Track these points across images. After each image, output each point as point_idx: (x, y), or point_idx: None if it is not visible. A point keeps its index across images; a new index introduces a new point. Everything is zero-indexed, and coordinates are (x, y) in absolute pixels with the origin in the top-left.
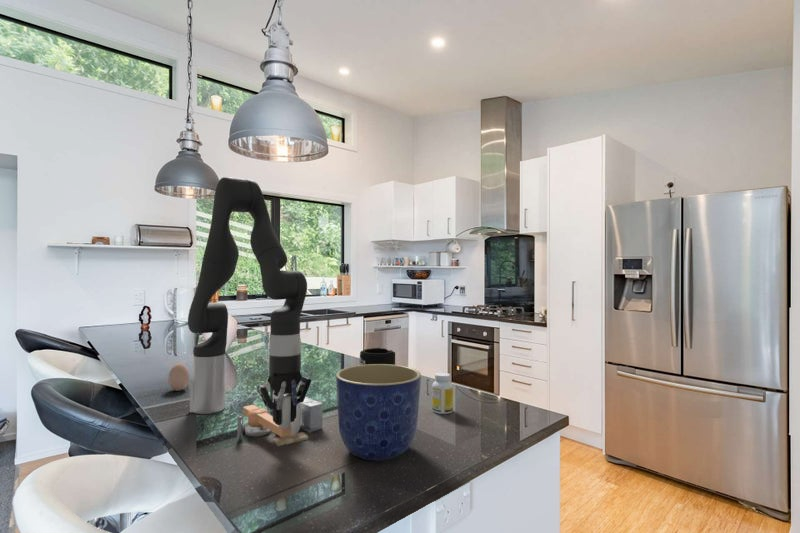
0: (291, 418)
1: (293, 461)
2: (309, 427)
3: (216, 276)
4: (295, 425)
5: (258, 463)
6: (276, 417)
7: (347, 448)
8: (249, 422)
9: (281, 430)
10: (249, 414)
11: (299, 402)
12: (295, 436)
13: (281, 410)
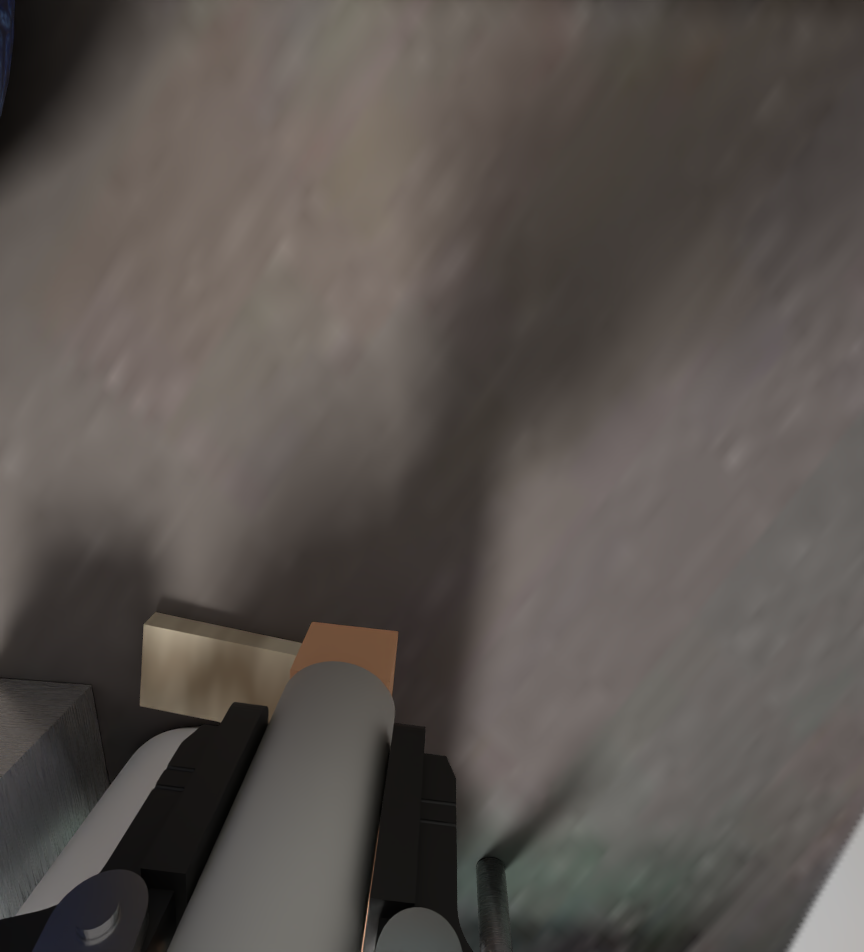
0: (254, 738)
1: (440, 383)
2: (68, 717)
3: None
4: (156, 775)
5: (620, 537)
6: (440, 817)
7: (12, 24)
8: None
9: (391, 679)
10: None
11: (4, 922)
12: (218, 681)
13: (372, 884)
